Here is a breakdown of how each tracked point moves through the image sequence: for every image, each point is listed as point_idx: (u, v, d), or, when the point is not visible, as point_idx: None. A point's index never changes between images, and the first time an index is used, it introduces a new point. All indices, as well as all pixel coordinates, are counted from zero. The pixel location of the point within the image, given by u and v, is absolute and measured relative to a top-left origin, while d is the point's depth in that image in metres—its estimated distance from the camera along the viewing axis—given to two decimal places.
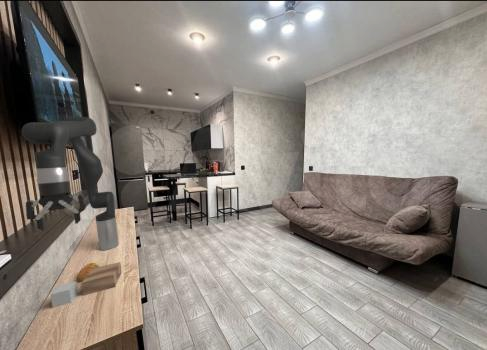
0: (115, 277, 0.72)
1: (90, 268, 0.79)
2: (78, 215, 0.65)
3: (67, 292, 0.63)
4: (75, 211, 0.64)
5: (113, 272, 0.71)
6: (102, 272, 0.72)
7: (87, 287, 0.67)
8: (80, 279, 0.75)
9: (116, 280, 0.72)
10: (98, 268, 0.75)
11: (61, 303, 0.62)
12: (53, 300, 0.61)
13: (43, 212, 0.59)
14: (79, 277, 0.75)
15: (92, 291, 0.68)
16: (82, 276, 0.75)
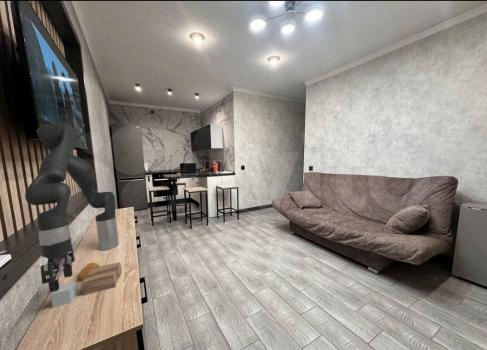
0: (115, 277, 0.72)
1: (91, 268, 0.79)
2: None
3: (67, 292, 0.63)
4: (71, 263, 0.68)
5: (113, 272, 0.71)
6: (102, 272, 0.72)
7: (87, 287, 0.67)
8: (81, 279, 0.75)
9: (116, 280, 0.72)
10: (98, 268, 0.75)
11: (61, 303, 0.62)
12: (53, 300, 0.61)
13: (60, 270, 0.61)
14: (80, 277, 0.75)
15: (92, 291, 0.68)
16: (83, 276, 0.75)
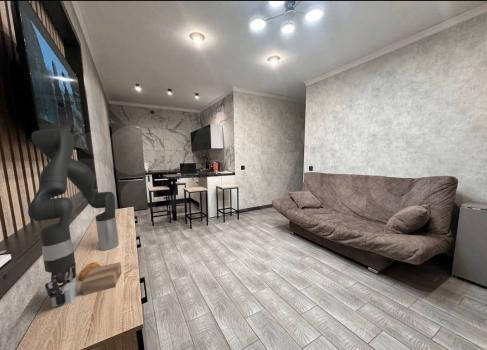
0: (115, 277, 0.72)
1: (92, 267, 0.80)
2: None
3: (67, 292, 0.63)
4: (72, 280, 0.67)
5: (113, 272, 0.71)
6: (102, 272, 0.72)
7: (87, 287, 0.67)
8: (82, 278, 0.75)
9: (116, 280, 0.72)
10: (98, 268, 0.75)
11: None
12: (53, 300, 0.61)
13: (65, 284, 0.63)
14: (81, 276, 0.75)
15: (92, 291, 0.68)
16: (84, 276, 0.76)
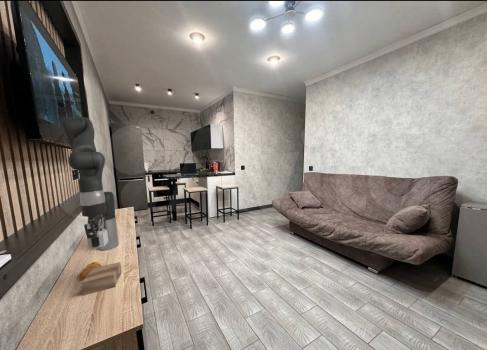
0: (115, 277, 0.72)
1: (93, 267, 0.80)
2: None
3: (101, 236, 0.70)
4: (103, 229, 0.74)
5: (113, 272, 0.71)
6: (102, 272, 0.72)
7: (87, 287, 0.67)
8: (84, 278, 0.75)
9: (116, 280, 0.72)
10: (98, 268, 0.75)
11: None
12: (89, 242, 0.68)
13: (99, 229, 0.70)
14: (83, 276, 0.76)
15: (92, 291, 0.68)
16: (86, 275, 0.76)
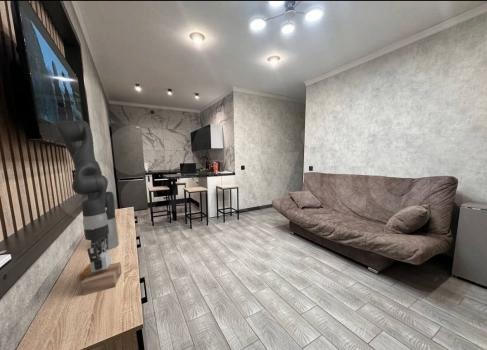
0: (115, 277, 0.72)
1: None
2: None
3: (104, 259, 0.70)
4: (106, 250, 0.75)
5: (113, 272, 0.71)
6: (102, 272, 0.72)
7: (87, 287, 0.67)
8: (85, 277, 0.76)
9: (116, 280, 0.72)
10: None
11: None
12: (92, 265, 0.69)
13: (102, 251, 0.70)
14: (84, 275, 0.76)
15: (92, 291, 0.68)
16: None
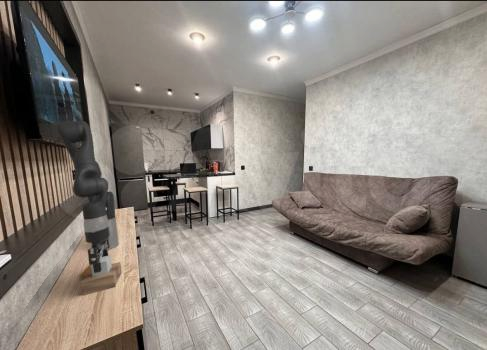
0: (115, 277, 0.72)
1: None
2: None
3: (105, 263, 0.71)
4: (107, 249, 0.77)
5: (113, 272, 0.71)
6: None
7: (87, 287, 0.67)
8: None
9: (116, 280, 0.72)
10: None
11: (99, 273, 0.70)
12: (93, 270, 0.69)
13: (102, 254, 0.70)
14: (86, 275, 0.76)
15: (92, 291, 0.68)
16: None
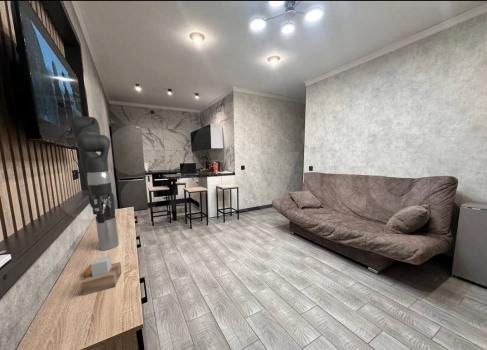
0: (115, 277, 0.72)
1: None
2: None
3: (105, 263, 0.71)
4: (110, 206, 0.81)
5: (113, 272, 0.71)
6: None
7: (87, 287, 0.67)
8: None
9: (116, 280, 0.72)
10: None
11: (99, 273, 0.70)
12: (93, 270, 0.69)
13: (105, 207, 0.74)
14: None
15: (92, 291, 0.68)
16: None
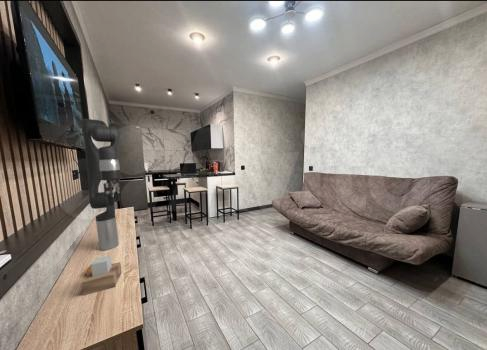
0: (115, 277, 0.72)
1: None
2: None
3: (105, 263, 0.71)
4: (118, 192, 0.89)
5: (113, 272, 0.71)
6: None
7: (87, 287, 0.67)
8: None
9: (116, 280, 0.72)
10: None
11: (99, 273, 0.70)
12: (93, 270, 0.69)
13: (114, 191, 0.82)
14: None
15: (92, 291, 0.68)
16: None
